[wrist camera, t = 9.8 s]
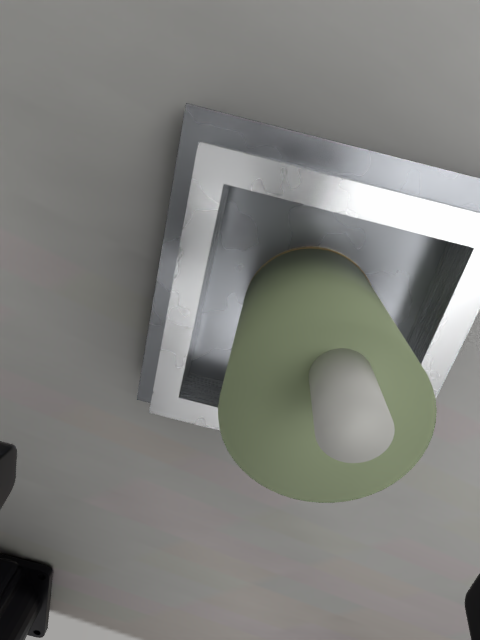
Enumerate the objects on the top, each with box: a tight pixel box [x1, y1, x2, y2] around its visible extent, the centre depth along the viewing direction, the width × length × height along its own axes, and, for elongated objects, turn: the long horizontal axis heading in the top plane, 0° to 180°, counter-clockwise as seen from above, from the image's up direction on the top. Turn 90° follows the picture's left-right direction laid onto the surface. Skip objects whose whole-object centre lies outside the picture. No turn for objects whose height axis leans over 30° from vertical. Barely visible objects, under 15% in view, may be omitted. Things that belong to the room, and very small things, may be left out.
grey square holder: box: [137, 103, 480, 430], centre depth 17 cm, size 12×12×4 cm
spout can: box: [218, 248, 436, 503], centre depth 12 cm, size 5×5×9 cm
